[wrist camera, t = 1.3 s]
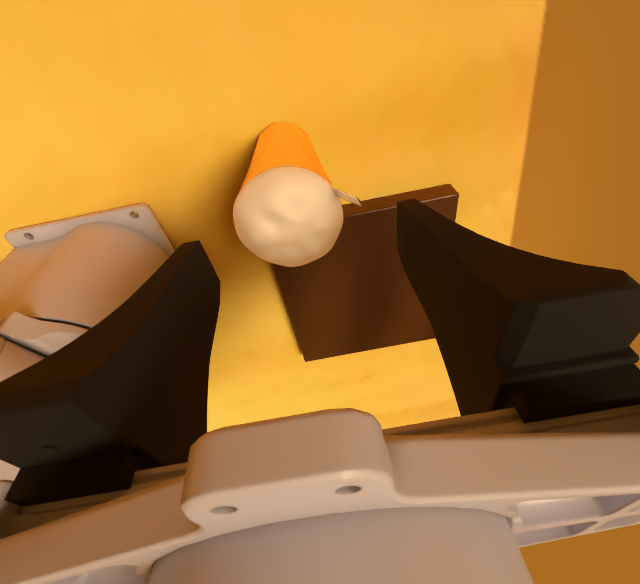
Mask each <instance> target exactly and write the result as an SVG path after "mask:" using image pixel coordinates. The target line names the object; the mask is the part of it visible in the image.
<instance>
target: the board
mask: <svg viewBox="0 0 640 584" xmlns="http://www.w3.org/2000/svg"><path fill="white" fill-rule="evenodd" d="M458 197H459V193H458V192H457V191H456V190H455V189H454V188H453V186H452V185H451V184H447V185H442V186H437V187H432V188H427V189H422V190H417V191H412V192H407V193H402V194H397V195H392V196H387V197H382V198H377V199H372V200H367V201H362V202H361V203H362V204H363V206H364V208H363V207H360V206H358V205H356V204H354V203H352V204H347V205H342V209H343V225H342V228H341V231H340V233H339V235H338V238H337V240H336V242H335V244H334V246H333V247H332V248H331V250H330V251H329V252H328V253H327V254H325V255H324V256H322V257H321V258H319V259H316V260H314V261H312V262H310V263H307V264H305V265H301V266H296V267H287V266H282V265H278V264H274V263H272V265H273V268H274V271H275V274H276V277H277V280H278V283H279V286H280V289H281V292H282V295H283V298H284V301H285V304H286V307H287V310H288V313H289V316H290V318H291V321H292V324H293V327H294V330H295V333H296V336H297V339H298V342H299V345H300V348H301V351H302V354H303V357H304V360H305V362H307V361H312V360H318V359H323V358H329V357H334V356H340V355H345V354H351V353H356V352H362V351H367V350H373V349H378V348H384V347H389V346H394V345H400V344H405V343H411V342H416V341H422V340H427V339H433V338H435V335H434V332H433V329H432V327H431V324H430V322H429V320H428V317H427V315H426V313H425V311H424V309H423V307H422V305H421V303H420V301H419V299H418V297H417V295H416V293H415V291H414V289H413V287H412V285H411V283H410V281H409V279H408V277H407V275H406V273H405V271H404V268H403V265H402V263H401V260H400V256H399V253H398V250H397V201H403V200H408V199H413V198H414V199H416V200H418V201H420V202H422V203H423V204H425V205H427V206H428V207H430V208H431V209H433V210H435V211H436V212H438V213H440V214H441V215H443V216H445V217H446V218H448V219H450V220H452V221H454V222H455V219H456V211H457V204H458Z"/></svg>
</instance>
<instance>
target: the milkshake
mask: <svg viewBox="0 0 640 584" xmlns="http://www.w3.org/2000/svg"><path fill="white" fill-rule="evenodd" d="M339 197H340V198H343V199H345V200H347V201H349V202H351V203H354V204H356V205H358V206H360V207H363V208H364V206H363V204H362V203H361V201H360V200H359V199H358V198H357V197H354V196H352V195H350V194H347V193H345V192H343V191H340V190H338V189H335V188H334V187H333V186H332V184H331V182H330V180H329V178H328V176H327V174H326V173H325V171H324V169H323V167H322V165H321V163H320V161H319V158H318V156H317V154H316V152H315V150H314V147H313V145H312V143H311V141H310V138H309V136H308V134H307V133H306V132H305V131H303V130H302V129H301V128H299V127H298V126H297V125H296V124H294V123H293V122H274V123H272V124H271V125H270V126H269V127H268V128H266V129H265V130H264V131H263V132H261V133H260V135H259V139H258V142H257V145H256V148H255V151H254V154H253V158H252V161H251V164H250V166H249V169H248V171H247V174H246V176H245V179H244V181H243V184H242V186H241V189H240V191H239V194H238V196H237V198H236V200H235V203H234V207H233V219H234V225H235V229H236V233H237V235H238V237H239V239H240V241H241V242H242V243H243V244H244V245H245V247H246V248H247V249H249V250H250V251H251V252H252V253H253V254H254V255H256V256H257V257H259V258H260V259H262V260H264V261H267V262H270V263H274V264H278V265H282V266H287V267H296V266H301V265H305V264H307V263H310V262H312V261H314V260H316V259H319V258H321V257H322V256H324V255H325V254H327V253H328V252H329V251H330V250H331V248H332V247H333V246H334V244H335V242H336V240H337V238H338V235H339V233H340V231H341V228H342V225H343V209H342V205H341V202H340V199H339Z"/></svg>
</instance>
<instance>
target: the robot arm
mask: <svg viewBox="0 0 640 584" xmlns="http://www.w3.org/2000/svg"><path fill="white" fill-rule="evenodd" d="M132 211H135V212H137V213H138V214H139V215H134V214H133V213H132ZM28 233H29V234H31V235H33V236H31V235H29V234H28ZM5 238H6V240H7V241H8V242H9V243H10V244H11V245H12V246H13V247H14V249H13V250H12V251H11V252H10V253H9V254H8V255H7V256H6V257H5V259H4V260H3V261H2V262H1V263H0V584H534V583H533V581H532V578H531V576H530V573H529V571H528V569H527V566H526V564H525V562H524V559H523V557H522V555H521V553H520V550H519V547H523V546H529V545H534V544H539V543H544V542H549V541H554V540H559V539H564V538H569V537H574V536H579V535H584V534H589V533H594V532H600V531H605V530H610V529H615V528H619V527H625V526H630V525H635V524H640V369H639V368H637V366H636V365H635V364H634V363H636V362H638V360H639V356H638V355H637V354H636V353H635V352H634V351H633V350H632V349H631V347H630V346H629V345H630V344H631V343H632V341H633V340H634V339H635V337H636V336H637V335H638V334H639V333H640V284H639V283H637V282H636V281H635V280H634V279H633V278H631V277H630V276H629V275H628V274H627V273H625V272H624V271H622V270H615V269H608V268H602V267H595V266H589V265H582V264H576V263H572V262H566V261H562V260H557V259H552V258H549V257H544V256H540V255H537V254H533V253H529V252H526V251H523V250H519V249H516V248H513V247H510V246H507V245H504V244H502V243H499V242H497V241H494V240H491V239H489V238H486V237H484V236H482V235H479V234H477V233H475V232H473V231H471V230H469V229H467V228H465V227H463V226H461V225H459V224H457V223H455V222H454V221H452V220H450V219H448V218H446V217H445V216H443V215H441V214H440V213H438V212H436V211H435V210H433V209H431V208H430V207H428V206H427V205H425V204H423V203H422V202H420V201H418V200H416V199H414V198H413V199H408V200H403V201H397V250H398V253H399V256H400V260H401V263H402V265H403V268H404V271H405V273H406V275H407V277H408V279H409V281H410V283H411V285H412V287H413V289H414V291H415V293H416V295H417V297H418V299H419V301H420V303H421V305H422V307H423V309H424V311H425V313H426V315H427V317H428V320H429V322H430V324H431V327H432V329H433V332H434V335H435V338H436V340H437V343H438V346H439V349H440V352H441V354H442V357H443V360H444V363H445V366H446V369H447V372H448V375H449V378H450V382H451V385H452V388H453V391H454V394H455V397H456V401H457V404H458V407H459V411H460V414H461V416H460V417H454V418H448V419H442V420H436V421H430V422H424V423H418V424H412V425H406V426H400V427H394V428H388V429H383V430H382V428H381V425H380V423H379V422H378V421H377V419H376V418H375V417H374V416H373V415H372V414H370V413H367V412H364V411H360V410H356V409H353V408H345V409H327V410H322V411H316V412H310V413H304V414H298V415H292V416H287V417H281V418H275V419H269V420H263V421H258V422H252V423H246V424H240V425H234V426H228V427H223V428H220V429H217V430H214V431H211V432H208V433H207V397H208V377H209V363H210V356H211V350H212V345H213V339H214V334H215V329H216V323H217V318H218V312H219V306H220V280H219V278H218V276H217V274H216V272H215V270H214V268H213V266H212V264H211V262H210V260H209V258H208V256H207V254H206V252H205V250H204V248H203V246H202V245H201V243H200V241H199V240H198V241H193V242H188V243H183V244H182V245H181V246H180V247H179V248H178V249H177V250H176V251H175V250H174V248H173V246H172V244H171V243H170V241H169V239H168V238H167V236H166V234H165V232H164V231H163V229H162V227H161V225H160V224H159V222H158V220H157V219H156V217H155V215H154V213H153V212H152V210H151V208H150V207H149V206H147V205H145V204H135V205H130V206H126V207H121V208H116V209H111V210H106V211H101V212H96V213H91V214H86V215H81V216H77V217H72V218H67V219H62V220H57V221H52V222H47V223H42V224H37V225H32V226H28V227H23V228H18V229H13V230H10V231H8V232H7V233H6V234H5Z"/></svg>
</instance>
